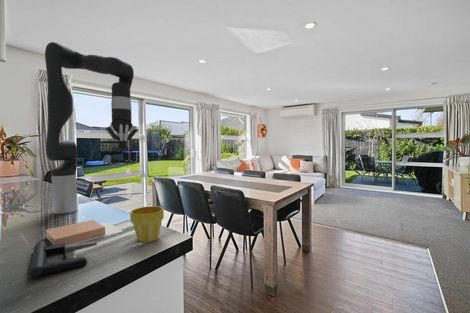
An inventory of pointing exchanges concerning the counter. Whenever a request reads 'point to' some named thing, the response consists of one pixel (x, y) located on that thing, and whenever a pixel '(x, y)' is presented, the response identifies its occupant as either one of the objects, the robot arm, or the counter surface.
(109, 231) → the grey mat
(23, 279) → the counter surface
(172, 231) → the counter surface
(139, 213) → the plant pot
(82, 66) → the robot arm
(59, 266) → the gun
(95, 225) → the terracotta tile
